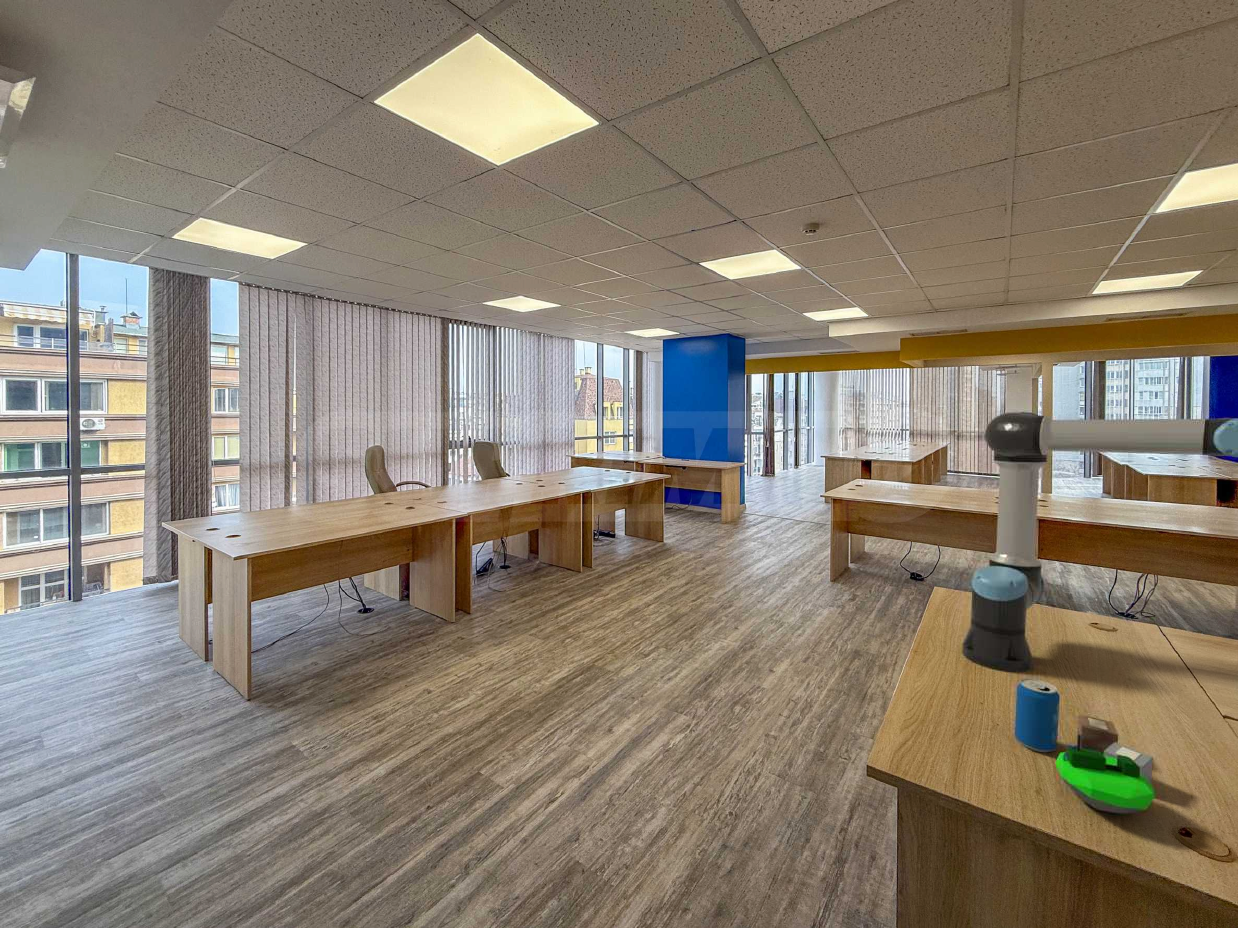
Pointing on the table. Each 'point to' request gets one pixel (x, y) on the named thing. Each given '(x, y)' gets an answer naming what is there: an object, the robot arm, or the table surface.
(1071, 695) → the table surface
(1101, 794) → the green toy boat
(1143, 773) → the slate block
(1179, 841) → the table surface
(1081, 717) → the walnut block
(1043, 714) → the beverage can
